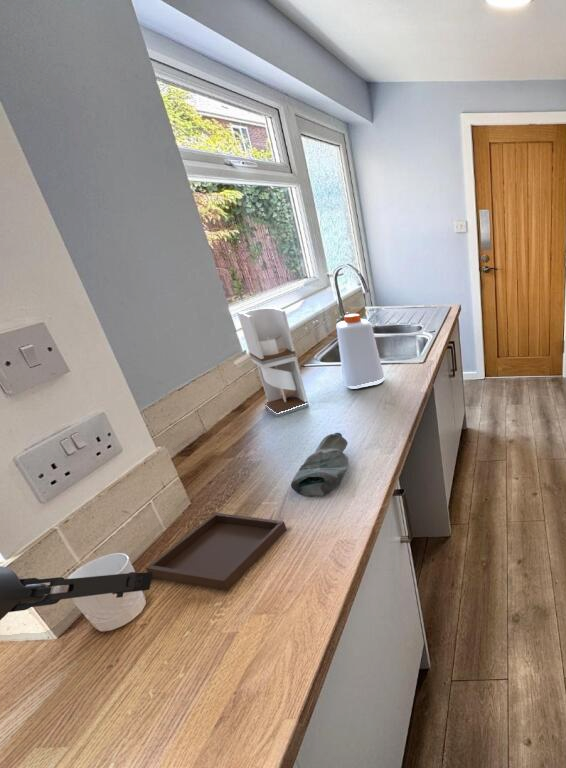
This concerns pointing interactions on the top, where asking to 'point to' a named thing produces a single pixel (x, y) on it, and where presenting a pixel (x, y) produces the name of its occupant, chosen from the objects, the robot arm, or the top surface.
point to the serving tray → (218, 551)
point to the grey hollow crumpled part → (322, 468)
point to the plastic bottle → (358, 351)
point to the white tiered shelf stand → (274, 358)
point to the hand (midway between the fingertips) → (104, 587)
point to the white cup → (109, 594)
